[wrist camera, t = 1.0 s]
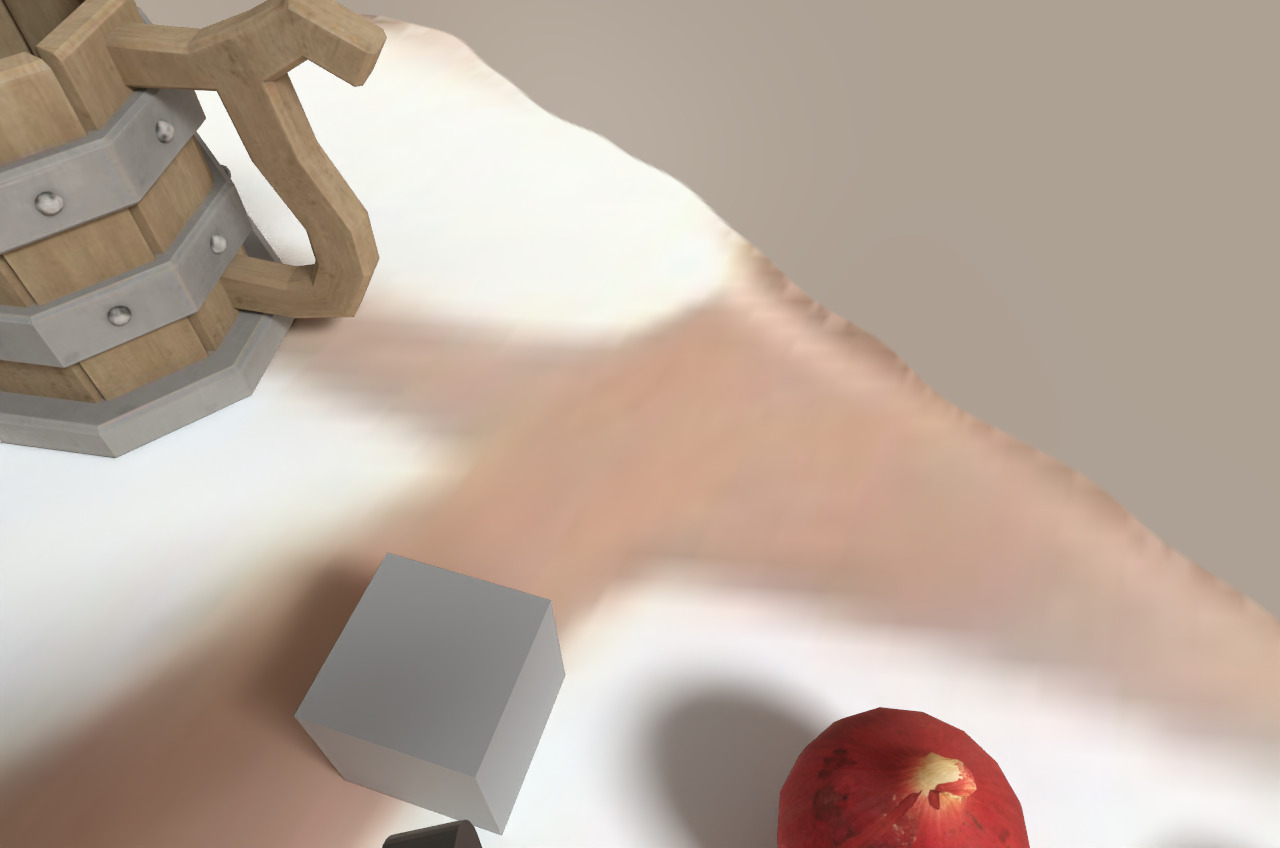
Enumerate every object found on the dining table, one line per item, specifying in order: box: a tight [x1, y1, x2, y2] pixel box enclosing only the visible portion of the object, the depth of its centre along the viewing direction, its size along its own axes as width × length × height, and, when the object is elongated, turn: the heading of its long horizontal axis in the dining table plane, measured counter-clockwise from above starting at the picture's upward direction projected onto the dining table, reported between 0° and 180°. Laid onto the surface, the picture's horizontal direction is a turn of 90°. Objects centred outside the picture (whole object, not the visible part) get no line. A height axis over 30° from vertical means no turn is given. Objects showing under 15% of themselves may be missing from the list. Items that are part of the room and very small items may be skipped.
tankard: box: [0, 0, 387, 458], centre depth 33 cm, size 20×13×15 cm, turn 81°
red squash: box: [777, 707, 1030, 848], centre depth 22 cm, size 6×6×8 cm
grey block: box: [294, 553, 565, 835], centre depth 26 cm, size 5×5×5 cm
